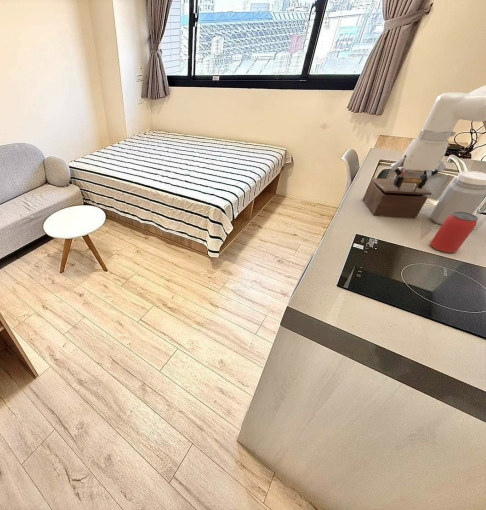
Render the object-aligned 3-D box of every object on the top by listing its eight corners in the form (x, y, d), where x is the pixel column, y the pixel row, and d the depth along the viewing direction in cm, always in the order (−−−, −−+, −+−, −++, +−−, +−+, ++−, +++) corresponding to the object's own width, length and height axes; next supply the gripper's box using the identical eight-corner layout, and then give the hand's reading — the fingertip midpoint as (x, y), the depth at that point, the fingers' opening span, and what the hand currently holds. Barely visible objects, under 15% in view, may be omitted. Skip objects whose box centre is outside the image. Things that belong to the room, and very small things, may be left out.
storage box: (415, 218, 106) (428, 197, 101) (373, 215, 110) (383, 194, 104) (400, 202, 117) (410, 182, 112) (362, 199, 121) (370, 180, 116)
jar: (425, 222, 104) (454, 175, 93) (432, 213, 108) (459, 167, 98) (461, 231, 97) (496, 182, 87) (466, 221, 102) (500, 174, 92)
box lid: (430, 195, 99) (438, 180, 96) (385, 192, 103) (391, 178, 100) (410, 182, 112) (417, 168, 109) (371, 180, 116) (376, 167, 113)
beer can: (436, 252, 89) (459, 220, 82) (425, 241, 94) (445, 210, 87) (461, 254, 87) (486, 221, 80) (448, 243, 92) (471, 211, 85)
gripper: (459, 133, 92) (430, 184, 103) (398, 132, 97) (376, 181, 107) (473, 138, 86) (441, 192, 97) (407, 138, 91) (383, 189, 102)
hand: (407, 186), depth 102 cm, fingers closed on box lid, 6 cm apart
